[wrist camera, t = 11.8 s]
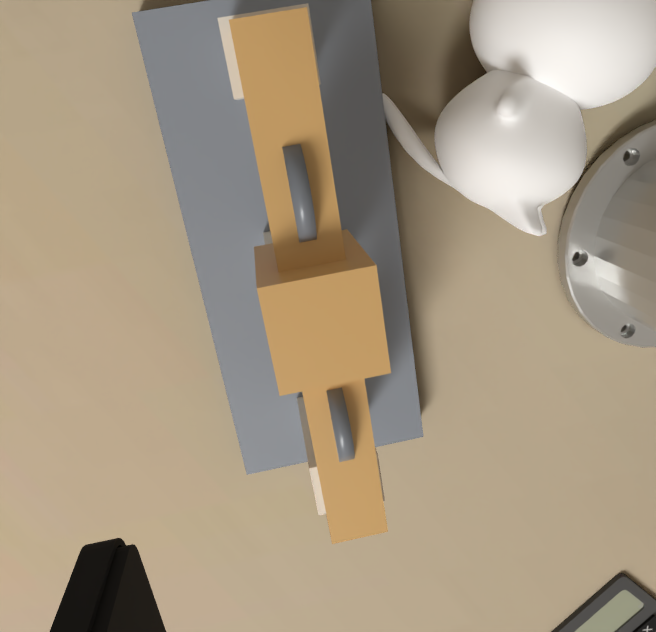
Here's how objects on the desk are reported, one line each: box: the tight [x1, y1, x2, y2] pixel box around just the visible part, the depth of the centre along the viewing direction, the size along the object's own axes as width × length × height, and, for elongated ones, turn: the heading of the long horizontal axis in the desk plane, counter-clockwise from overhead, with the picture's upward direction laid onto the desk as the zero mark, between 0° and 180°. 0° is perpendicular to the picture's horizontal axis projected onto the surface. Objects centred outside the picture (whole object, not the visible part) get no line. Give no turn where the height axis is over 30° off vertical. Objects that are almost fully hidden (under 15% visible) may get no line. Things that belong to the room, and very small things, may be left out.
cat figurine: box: [382, 0, 656, 236], centre depth 26 cm, size 9×11×12 cm
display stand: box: [132, 0, 423, 515], centre depth 27 cm, size 10×23×8 cm, turn 9°
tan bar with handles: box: [229, 7, 391, 544], centre depth 23 cm, size 4×20×6 cm, turn 9°
